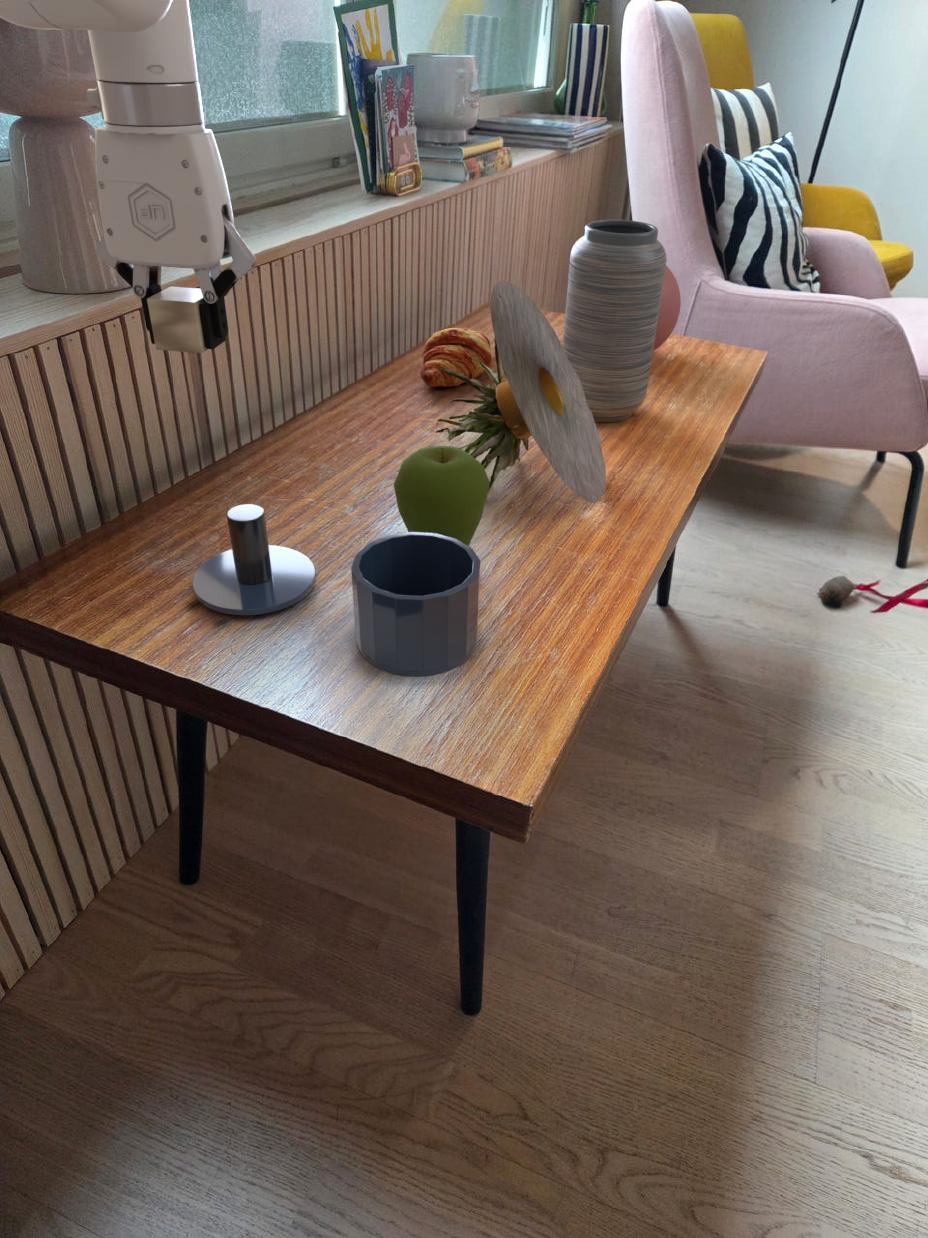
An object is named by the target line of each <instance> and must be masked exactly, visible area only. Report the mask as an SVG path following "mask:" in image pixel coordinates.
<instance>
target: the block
mask: <svg viewBox="0 0 928 1238" xmlns="http://www.w3.org/2000/svg"><path fill="white" fill-rule="evenodd" d="M162 290H163V291H161V292H159V293H157V294H155V295H153V296H151V297H149V298H148V299H147V302H148V308H149V313H150V319H151V324H152V330H153V336H154V341H155V344H154V346H155V350H157V351H158V350H159V351H169V352H181V353H191V354H204V353H205V352H206V351H208V350H209V349H207V348H206V347H205V345H204V338H203V331H202V324H201V318H200V311H199V305H200V303H202V302H203V295H202V292H201V289H200V288H197V287H182V286H169V287H167V288H165V289H162Z"/></svg>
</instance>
